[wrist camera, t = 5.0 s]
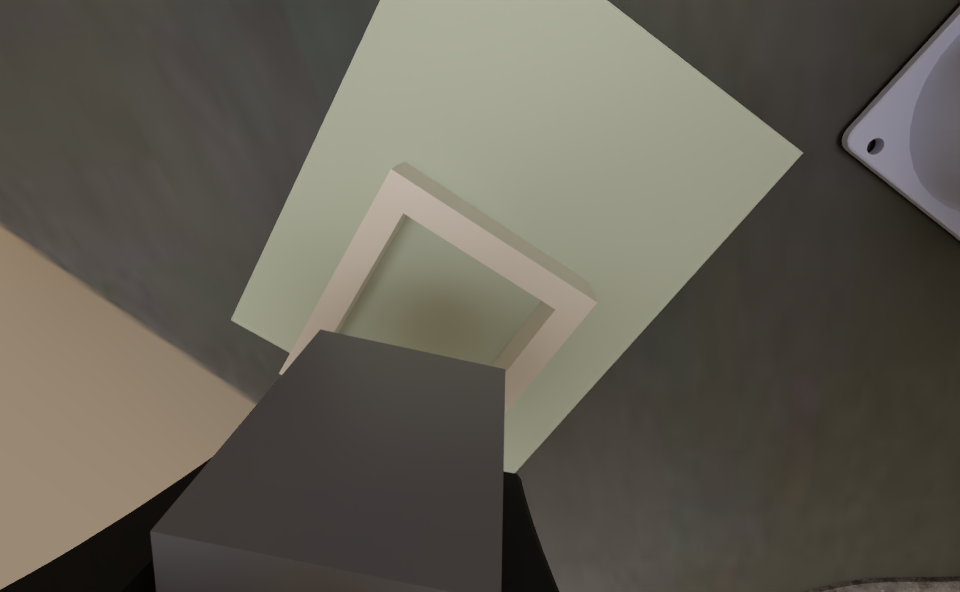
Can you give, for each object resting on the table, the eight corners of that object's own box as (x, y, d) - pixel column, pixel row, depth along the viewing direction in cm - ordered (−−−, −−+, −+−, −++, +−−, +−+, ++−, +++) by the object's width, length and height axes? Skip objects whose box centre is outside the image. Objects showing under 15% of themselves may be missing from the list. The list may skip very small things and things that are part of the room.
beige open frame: (588, 281, 17) (597, 302, 16) (462, 438, 21) (457, 470, 19) (404, 161, 16) (390, 169, 14) (301, 348, 19) (279, 373, 18)
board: (786, 150, 16) (803, 153, 15) (512, 460, 22) (512, 475, 21) (445, -114, 14) (440, -130, 13) (243, 310, 20) (230, 320, 19)
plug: (505, 369, 10) (501, 601, 5) (452, 565, 12) (417, 843, 8) (320, 329, 10) (150, 530, 5) (302, 535, 12) (176, 798, 8)
